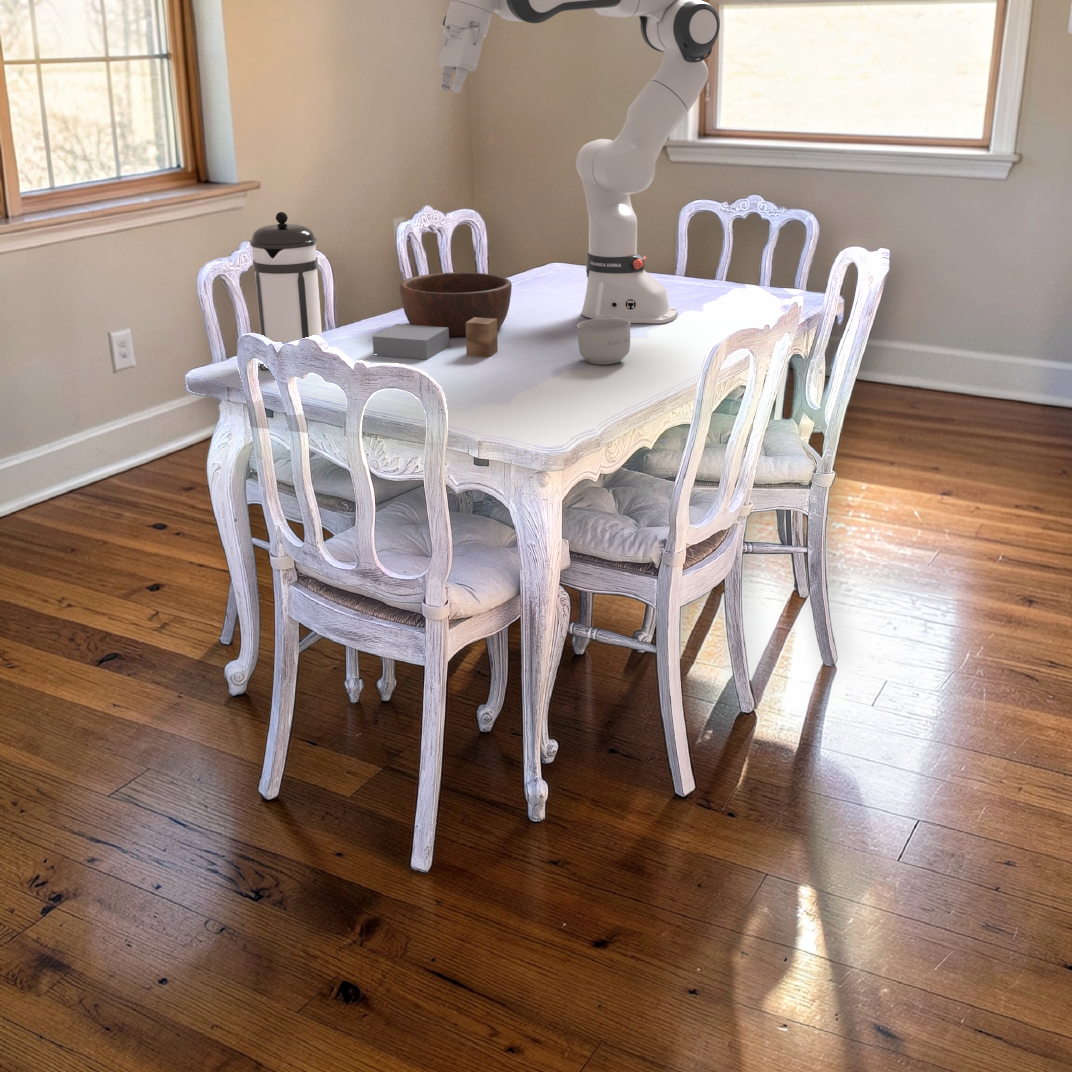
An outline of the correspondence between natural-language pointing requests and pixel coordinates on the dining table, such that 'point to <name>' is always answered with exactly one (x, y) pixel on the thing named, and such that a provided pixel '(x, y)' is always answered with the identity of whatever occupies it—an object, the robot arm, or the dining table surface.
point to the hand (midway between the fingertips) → (449, 91)
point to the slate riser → (411, 341)
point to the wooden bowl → (455, 299)
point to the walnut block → (481, 337)
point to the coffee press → (286, 281)
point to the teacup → (604, 340)
